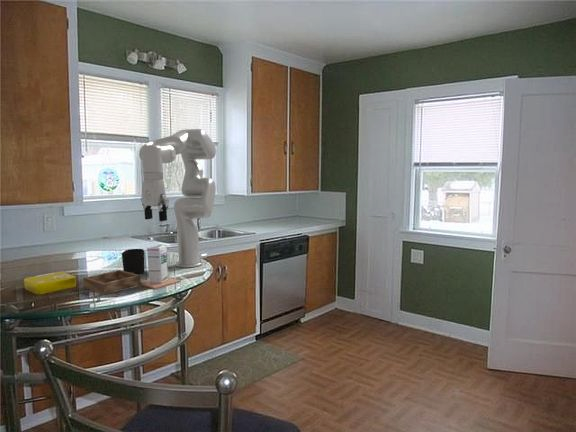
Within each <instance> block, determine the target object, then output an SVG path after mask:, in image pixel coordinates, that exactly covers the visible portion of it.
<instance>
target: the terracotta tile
mask: <svg viewBox="0 0 576 432" xmlns="http://www.w3.org/2000/svg"><path fill="white" fill-rule="evenodd" d="M181 282H182V281H181V280H180V279H176V278H172V277H169V279H168V280H167V281H165V282H163V283H150V282H149V279H146V280H143V281H141V285H140V286H144V287H146V288H151V289H154V290H157V289H160V288H164V287H168V286H171V285H175V284H178V283H181Z"/></svg>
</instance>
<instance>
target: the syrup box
mask: <svg viewBox="0 0 576 432" xmlns="http://www.w3.org/2000/svg"><path fill="white" fill-rule="evenodd" d="M146 254H147V268H148V270H147V271H148V280H149V282H150V283H163V282H165V281H167V280H168V279H169V278H170V277H169V263H168V249H167V244H166V245H165V244H154V245H152V246H149V247H146Z"/></svg>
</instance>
